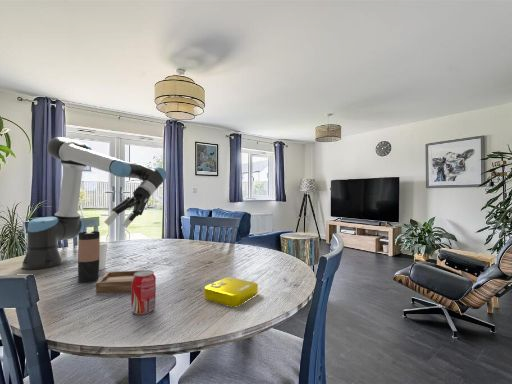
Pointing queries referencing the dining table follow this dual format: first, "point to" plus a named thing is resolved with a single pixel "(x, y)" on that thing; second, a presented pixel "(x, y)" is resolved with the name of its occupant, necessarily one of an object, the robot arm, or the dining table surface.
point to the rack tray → (115, 282)
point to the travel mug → (88, 256)
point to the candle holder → (102, 255)
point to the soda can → (143, 292)
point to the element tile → (230, 291)
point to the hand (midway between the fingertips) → (114, 224)
